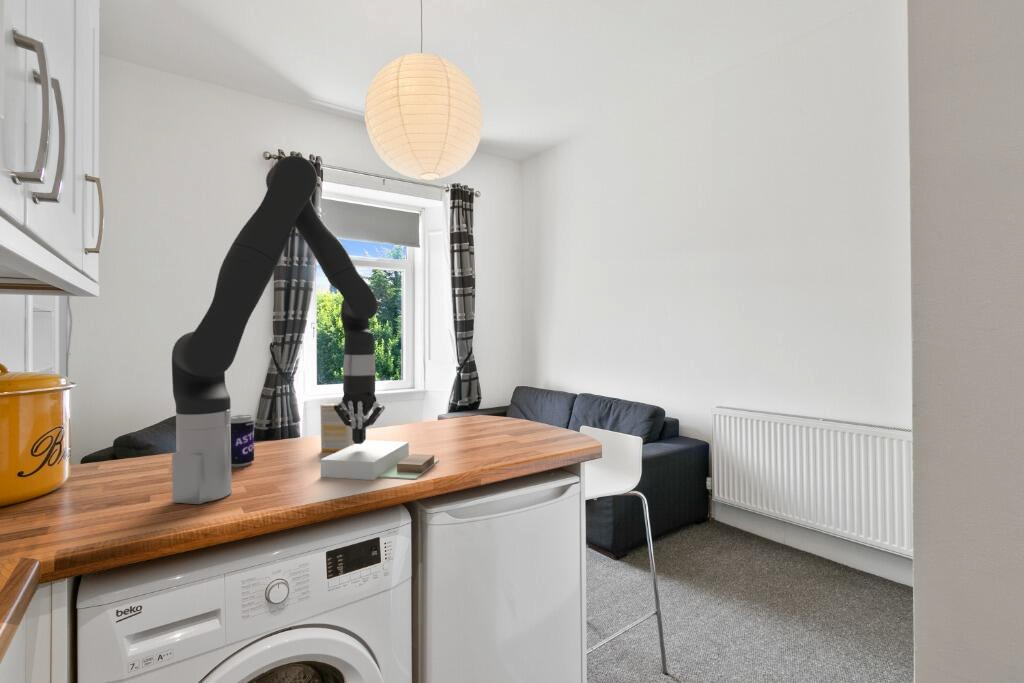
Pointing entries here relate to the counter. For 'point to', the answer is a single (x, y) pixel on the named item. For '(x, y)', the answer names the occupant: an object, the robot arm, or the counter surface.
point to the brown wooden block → (415, 463)
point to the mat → (401, 473)
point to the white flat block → (364, 460)
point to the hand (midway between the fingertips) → (359, 443)
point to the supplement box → (334, 430)
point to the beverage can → (242, 440)
